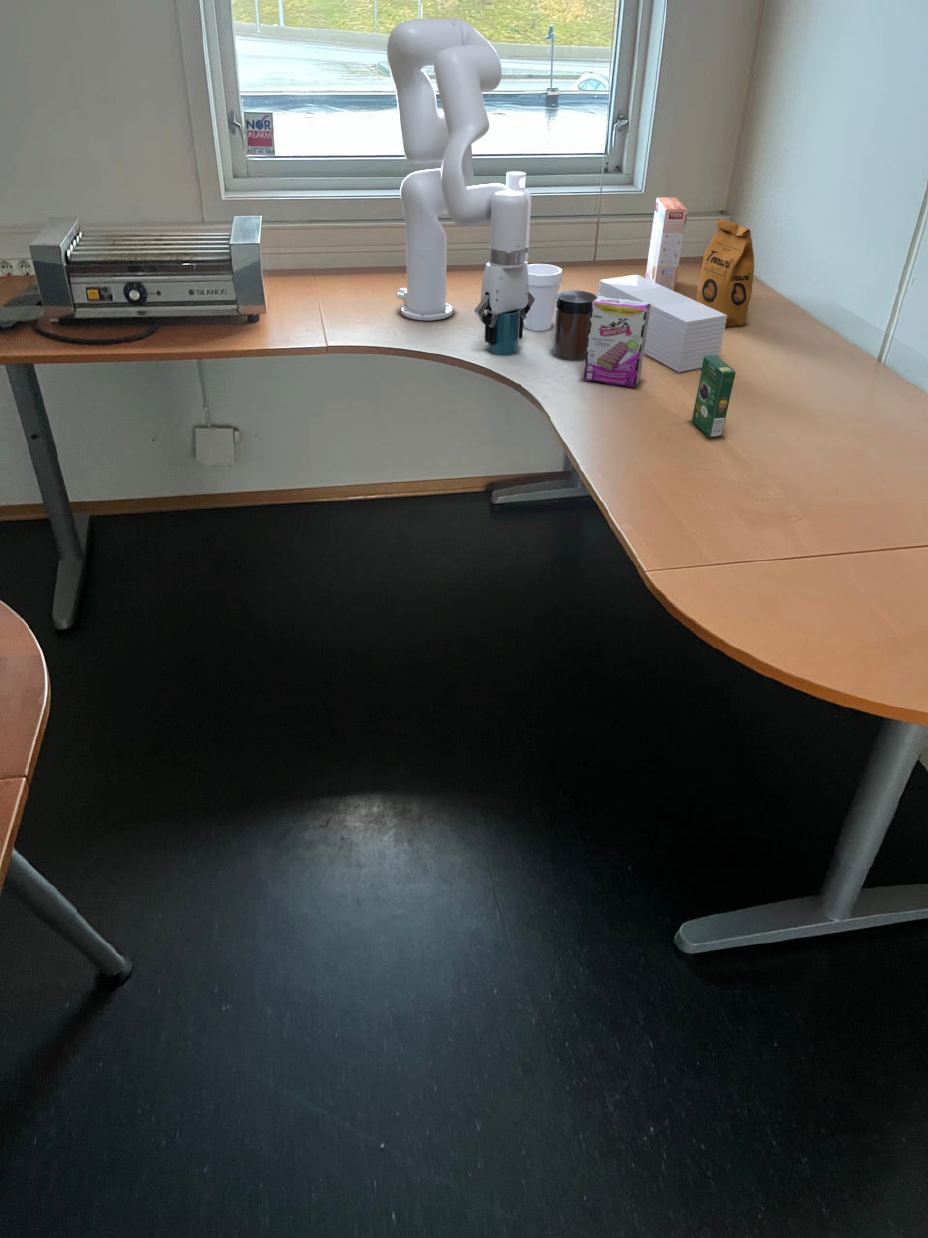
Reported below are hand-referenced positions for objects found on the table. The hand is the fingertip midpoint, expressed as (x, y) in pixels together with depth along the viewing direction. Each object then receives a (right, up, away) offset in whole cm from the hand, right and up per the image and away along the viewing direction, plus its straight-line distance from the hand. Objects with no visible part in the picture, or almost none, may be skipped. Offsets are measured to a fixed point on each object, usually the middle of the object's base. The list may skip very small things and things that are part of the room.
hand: (503, 339), depth 203 cm
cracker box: (+43, +26, +41) cm, 65 cm away
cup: (0, -2, +1) cm, 2 cm away
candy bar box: (+22, -13, -12) cm, 28 cm away
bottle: (+3, +24, +36) cm, 43 cm away
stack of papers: (+34, 0, +6) cm, 35 cm away
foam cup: (+9, +7, +14) cm, 18 cm away
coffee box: (+37, -27, -31) cm, 55 cm away
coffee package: (+53, +11, +20) cm, 58 cm away
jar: (+15, -3, 0) cm, 15 cm away
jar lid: (+15, +6, -7) cm, 18 cm away
